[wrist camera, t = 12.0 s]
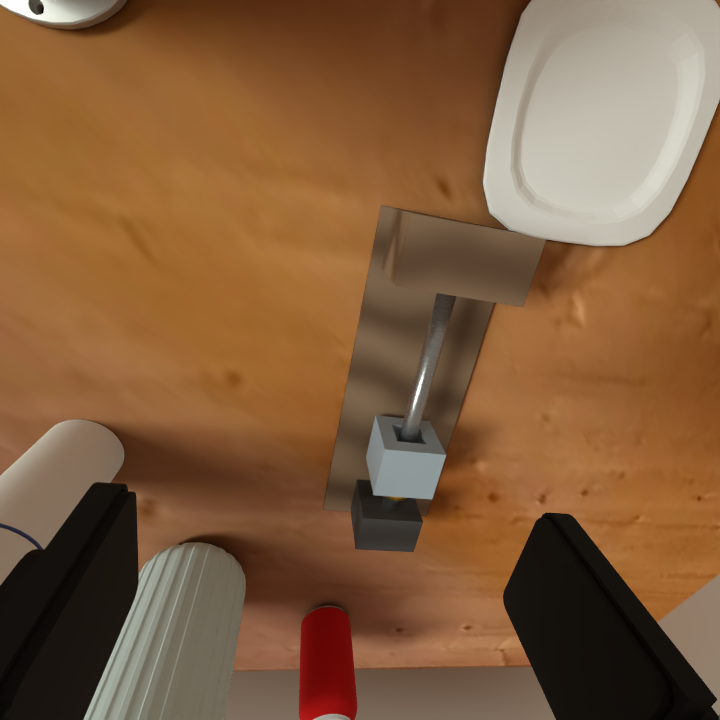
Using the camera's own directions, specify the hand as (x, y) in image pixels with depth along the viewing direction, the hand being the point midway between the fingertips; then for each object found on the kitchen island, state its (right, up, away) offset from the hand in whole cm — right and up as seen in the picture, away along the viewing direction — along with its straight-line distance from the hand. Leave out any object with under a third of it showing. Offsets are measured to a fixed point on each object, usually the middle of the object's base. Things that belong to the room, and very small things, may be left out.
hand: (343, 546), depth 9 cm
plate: (+19, +24, +24) cm, 39 cm away
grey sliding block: (+4, -4, +32) cm, 32 cm away
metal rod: (+5, -1, +29) cm, 30 cm away
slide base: (+5, +2, +31) cm, 31 cm away
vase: (-18, -19, +37) cm, 46 cm away
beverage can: (-4, -29, +43) cm, 52 cm away
